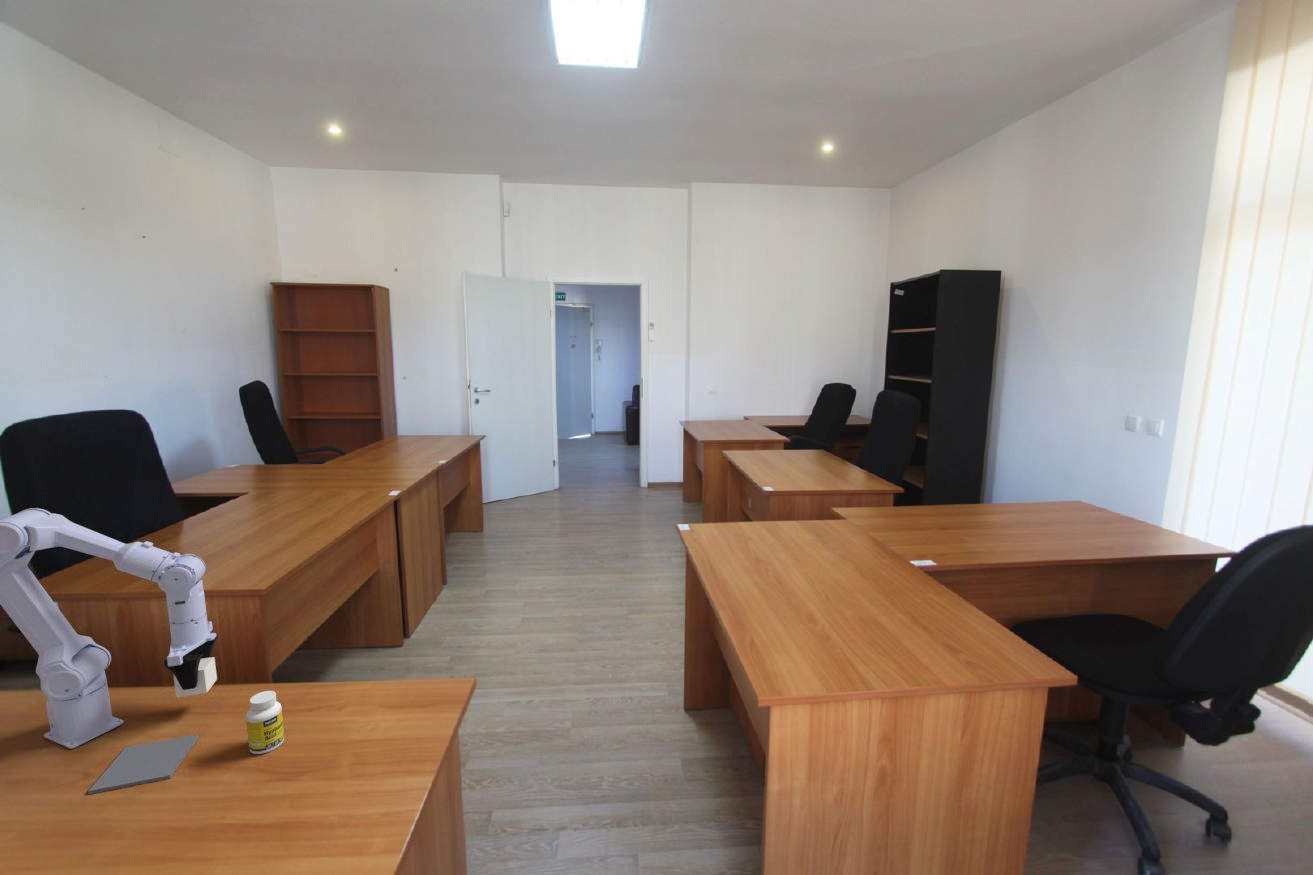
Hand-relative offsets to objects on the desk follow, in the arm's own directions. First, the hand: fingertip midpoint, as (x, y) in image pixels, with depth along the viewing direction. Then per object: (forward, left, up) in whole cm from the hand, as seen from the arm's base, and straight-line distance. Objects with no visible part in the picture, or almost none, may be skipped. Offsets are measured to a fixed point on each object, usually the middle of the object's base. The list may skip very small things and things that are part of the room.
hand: (195, 680), depth 113 cm
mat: (+8, -13, -7) cm, 17 cm away
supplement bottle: (+23, -2, -7) cm, 24 cm away
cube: (0, 0, -2) cm, 2 cm away
